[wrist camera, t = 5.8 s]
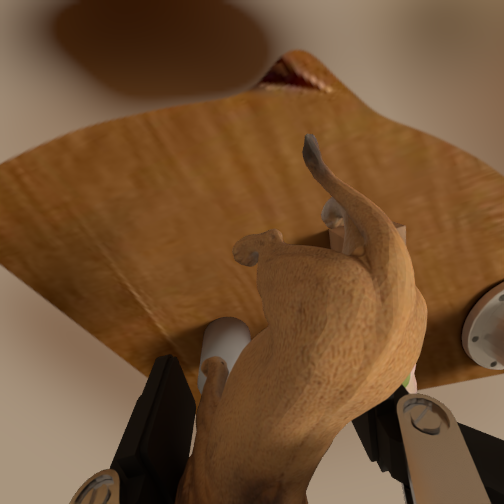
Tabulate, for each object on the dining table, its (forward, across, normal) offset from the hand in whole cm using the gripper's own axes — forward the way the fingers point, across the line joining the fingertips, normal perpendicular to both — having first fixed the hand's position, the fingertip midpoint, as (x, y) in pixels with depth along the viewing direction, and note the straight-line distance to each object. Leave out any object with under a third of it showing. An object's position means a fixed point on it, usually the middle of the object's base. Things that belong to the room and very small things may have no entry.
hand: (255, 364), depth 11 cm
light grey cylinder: (+14, +4, +9) cm, 17 cm away
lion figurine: (+2, -1, -1) cm, 2 cm away
